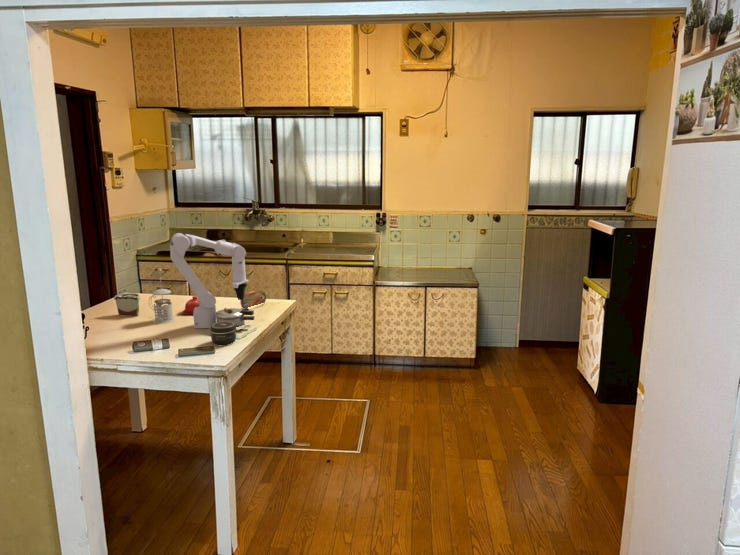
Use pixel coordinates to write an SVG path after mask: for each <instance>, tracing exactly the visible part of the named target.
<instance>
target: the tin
mask: <svg viewBox="0 0 740 555" xmlns="http://www.w3.org/2000/svg"><path fill="white" fill-rule="evenodd" d="M239 301H240V306H241V309H244V308H245V309H244V310H247V309H246V308H248V307H251V306H254V305H258V304H261V303H264V304H265V303H266V301H267V295H266V293H265V292H264V291H263V290H252V291H250V292H246V293H245V292H244V298H243V300H239Z"/></svg>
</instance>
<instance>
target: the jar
mask: <svg viewBox="0 0 740 555" xmlns="http://www.w3.org/2000/svg"><path fill="white" fill-rule="evenodd" d="M236 332H237V331H236V327H235V323H233V322H228V321H223V322H217V323H214V324H212V325H211V328H210V337H211V343H212V344H213V345H214V344H215V346H218V345H222V346H223V345H225V346H229V345H228V344H230V345H232V344H234V343H235V341H236V339H237V333H236ZM233 342H234V343H233ZM231 343H232V344H231ZM222 346H221V347H222ZM223 347H224V346H223Z"/></svg>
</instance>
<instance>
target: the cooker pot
mask: <svg viewBox="0 0 740 555" xmlns="http://www.w3.org/2000/svg"><path fill="white" fill-rule="evenodd" d="M254 320H255V316H254V315H243V316H241V317H238V318H231V319H222V318H218V317H216V321H217V322H223V321H228V322H233V323H235V327H239V326H242V325H245V321H254Z"/></svg>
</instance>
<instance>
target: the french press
mask: <svg viewBox="0 0 740 555" xmlns="http://www.w3.org/2000/svg"><path fill="white" fill-rule="evenodd" d="M162 271H163V270H162V268H157V272H162ZM161 276H162V275H159V279H160V282H162V277H161ZM171 293H172V291H171V290H169V289H167V288H163V286H160V288H159V289H157V290H154V291H153V292H152V295H151V296H150V297H149V298H148V300H153V299H152V298H154V299H155V298H156V297H157V296H161V298H160V299H155V300H154V304H153V303H152V301H150V303H148V305H149V308H150V309H152V310H153V312H154V319H153V321H152V322H154V324H156V323H157V325H162V324H163V325H165V324H171V323H173V322H175V321H176V318H175V317H173V316H174V315H173V305H172V304H173V303H172V301H171V299H170V298H163V296H166V295H170V294H171Z"/></svg>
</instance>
